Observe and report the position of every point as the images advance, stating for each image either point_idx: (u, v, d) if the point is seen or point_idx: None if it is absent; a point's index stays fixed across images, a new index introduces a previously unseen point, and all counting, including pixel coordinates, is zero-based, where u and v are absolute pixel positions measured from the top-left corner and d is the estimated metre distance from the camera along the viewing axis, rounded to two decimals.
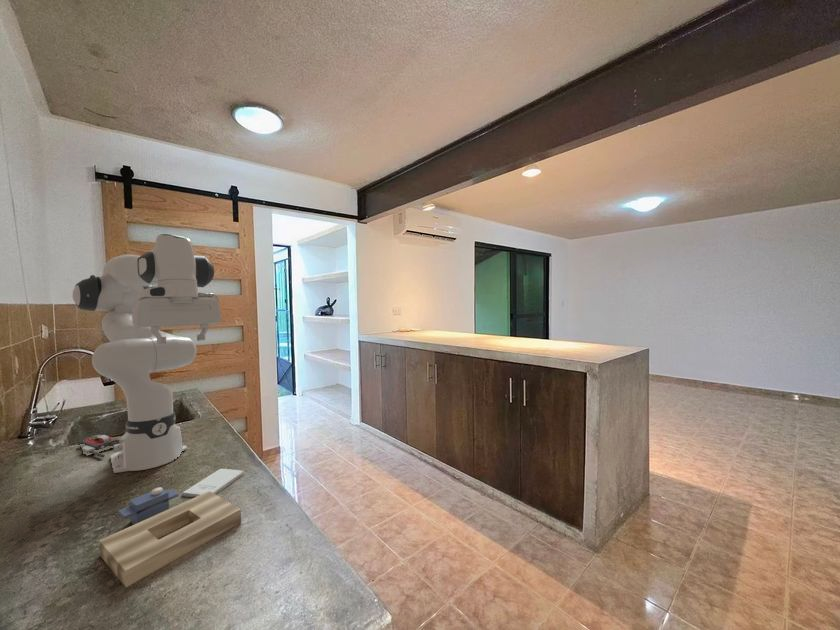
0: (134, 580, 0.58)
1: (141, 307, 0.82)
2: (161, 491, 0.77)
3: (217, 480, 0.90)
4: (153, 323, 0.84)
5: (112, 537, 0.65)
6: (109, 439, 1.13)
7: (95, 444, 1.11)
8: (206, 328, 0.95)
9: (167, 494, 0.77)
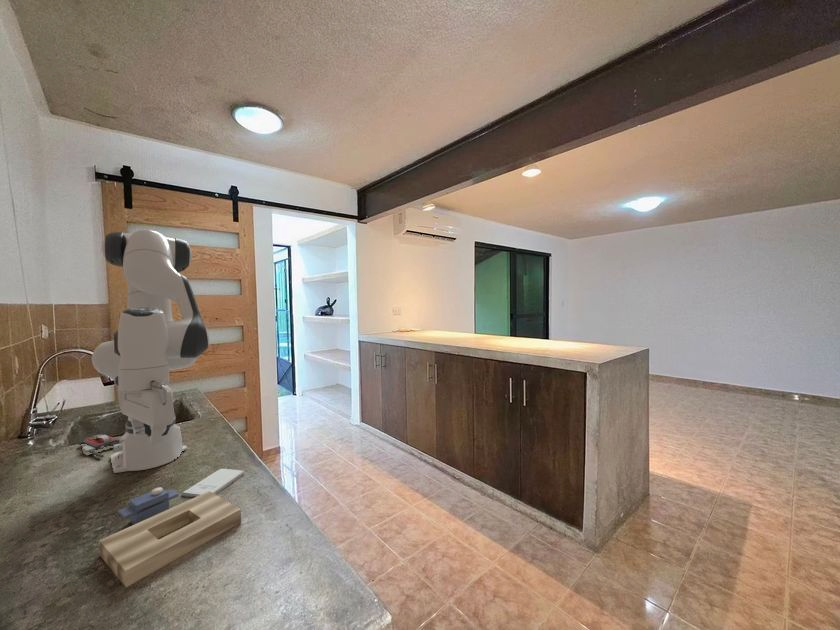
0: (134, 580, 0.58)
1: (118, 395, 0.78)
2: (161, 491, 0.77)
3: (217, 480, 0.90)
4: (125, 413, 0.77)
5: (112, 537, 0.65)
6: (109, 439, 1.13)
7: (95, 444, 1.11)
8: (151, 430, 0.71)
9: (167, 494, 0.77)
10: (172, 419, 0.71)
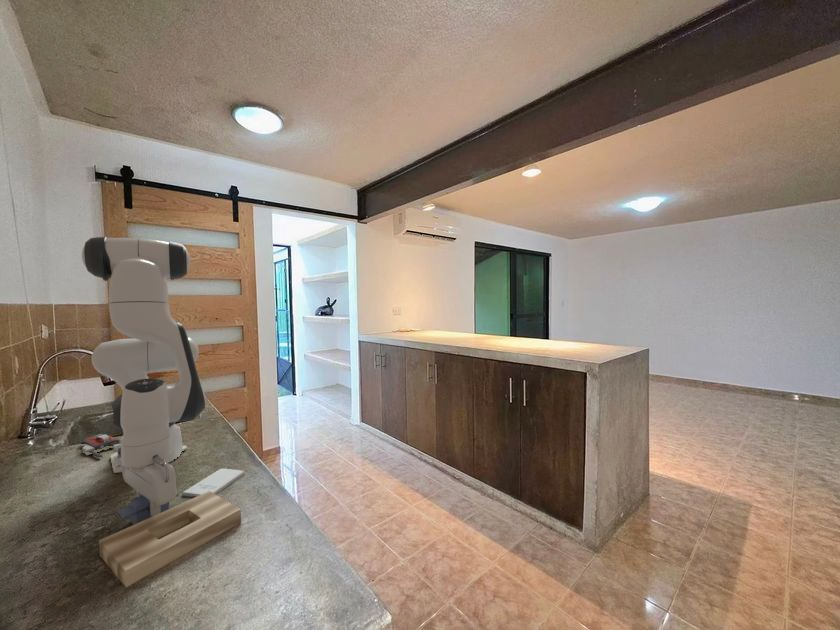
0: (134, 580, 0.58)
1: (121, 464, 0.78)
2: None
3: (217, 479, 0.90)
4: (128, 482, 0.78)
5: (112, 537, 0.65)
6: (109, 439, 1.13)
7: (95, 444, 1.11)
8: (150, 503, 0.73)
9: None
10: (174, 495, 0.71)
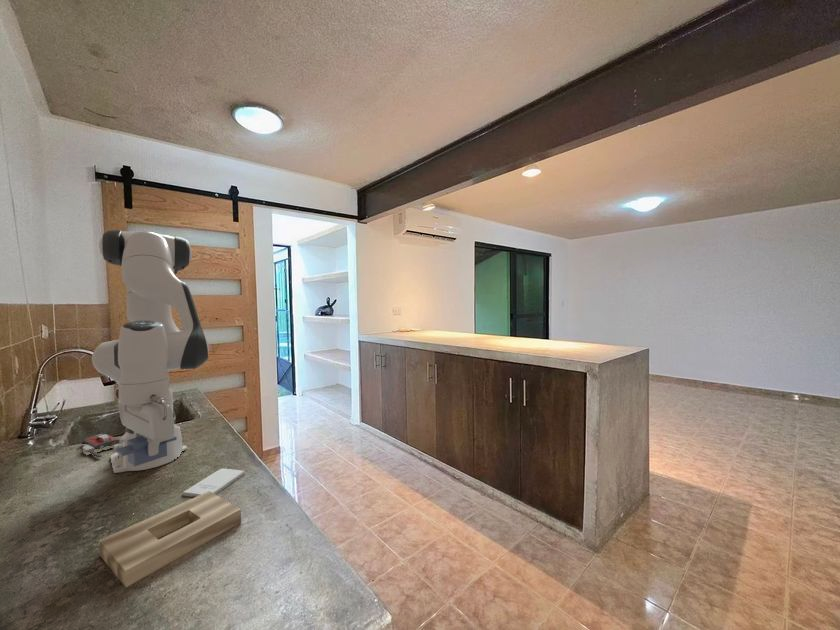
0: (134, 580, 0.58)
1: (119, 407, 0.78)
2: None
3: (217, 479, 0.90)
4: (126, 425, 0.78)
5: (112, 537, 0.65)
6: (109, 439, 1.13)
7: (95, 444, 1.11)
8: (148, 442, 0.73)
9: None
10: (172, 434, 0.71)
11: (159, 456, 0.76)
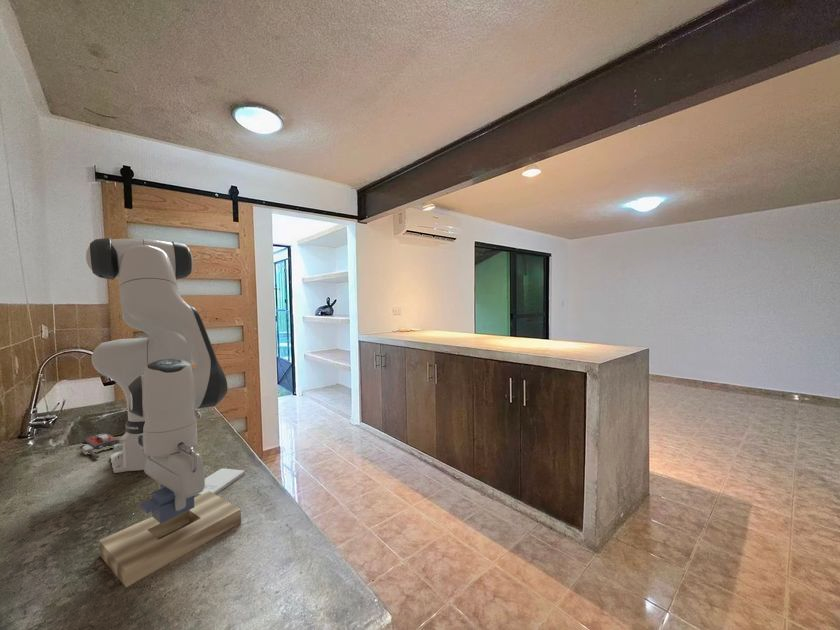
0: (134, 580, 0.58)
1: (141, 454, 0.71)
2: None
3: (218, 479, 0.90)
4: (149, 474, 0.70)
5: (112, 537, 0.65)
6: (109, 439, 1.13)
7: (95, 444, 1.11)
8: (175, 496, 0.65)
9: None
10: (203, 487, 0.64)
11: (186, 509, 0.69)
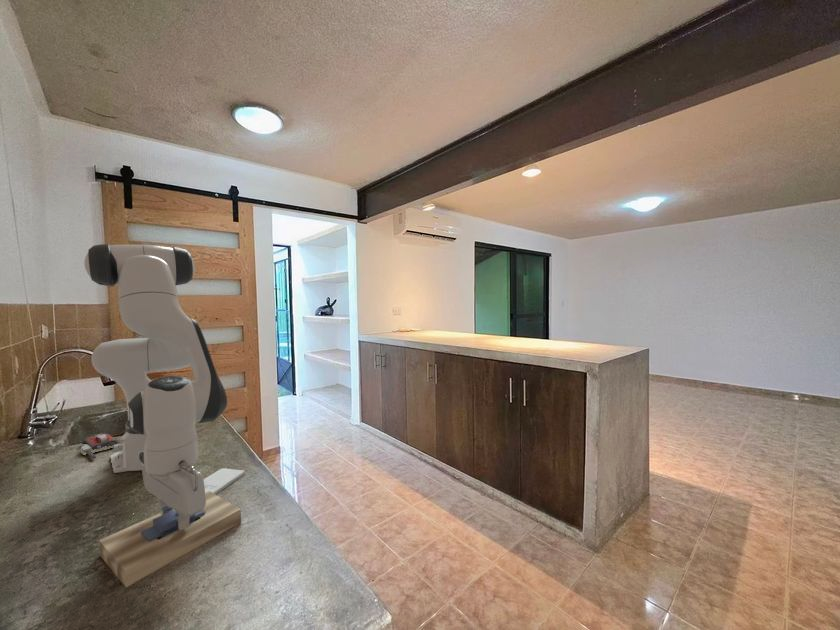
0: (134, 580, 0.58)
1: (142, 470, 0.71)
2: None
3: (218, 479, 0.90)
4: (150, 490, 0.71)
5: (112, 537, 0.65)
6: (107, 439, 1.13)
7: (93, 444, 1.11)
8: (179, 516, 0.65)
9: None
10: (204, 505, 0.64)
11: None
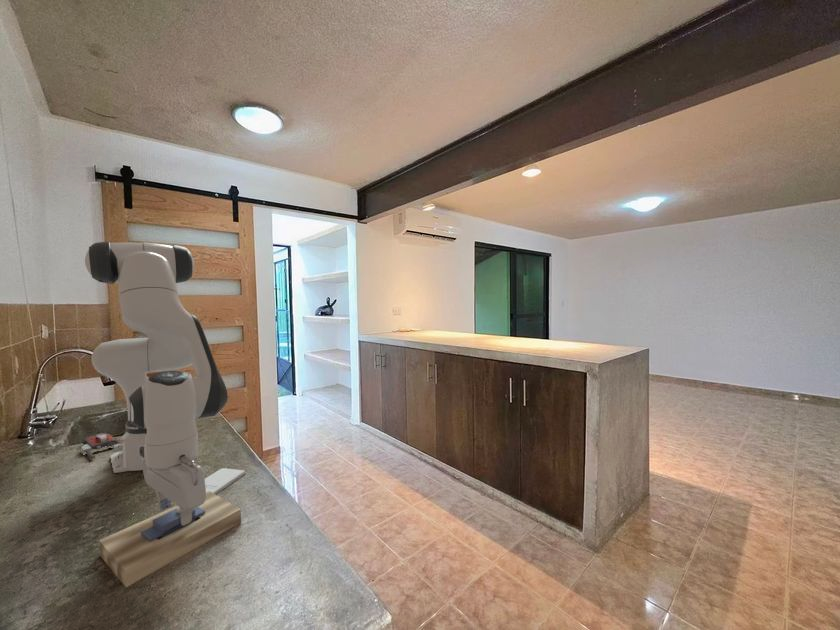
0: (134, 580, 0.58)
1: (142, 464, 0.72)
2: None
3: (218, 479, 0.90)
4: (150, 484, 0.71)
5: (112, 537, 0.65)
6: (107, 439, 1.13)
7: (93, 444, 1.11)
8: (181, 511, 0.65)
9: (193, 512, 0.70)
10: (204, 499, 0.65)
11: None
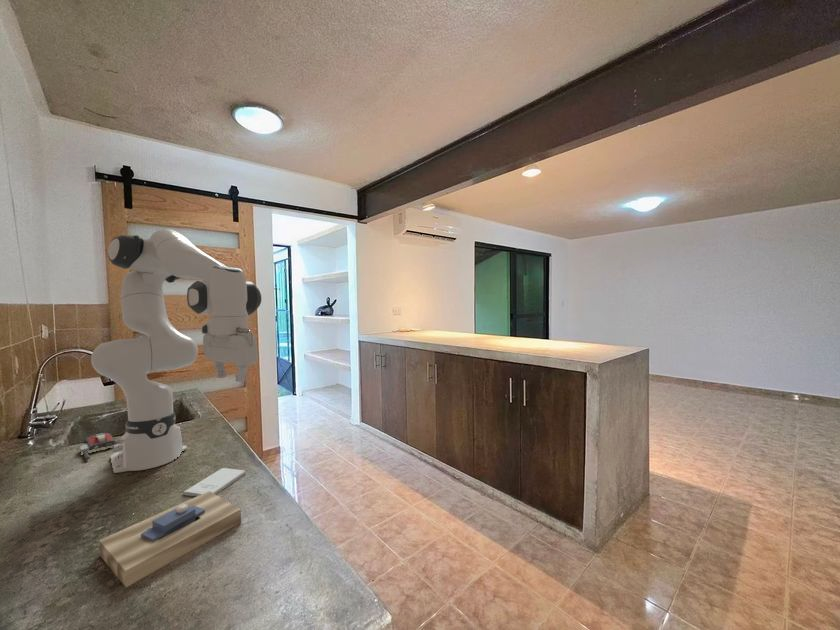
0: (134, 580, 0.58)
1: (203, 343, 0.90)
2: (187, 508, 0.70)
3: (218, 479, 0.90)
4: (210, 358, 0.89)
5: (112, 537, 0.65)
6: (105, 439, 1.13)
7: (91, 444, 1.11)
8: (238, 369, 0.83)
9: (194, 511, 0.71)
10: (256, 359, 0.83)
11: None
